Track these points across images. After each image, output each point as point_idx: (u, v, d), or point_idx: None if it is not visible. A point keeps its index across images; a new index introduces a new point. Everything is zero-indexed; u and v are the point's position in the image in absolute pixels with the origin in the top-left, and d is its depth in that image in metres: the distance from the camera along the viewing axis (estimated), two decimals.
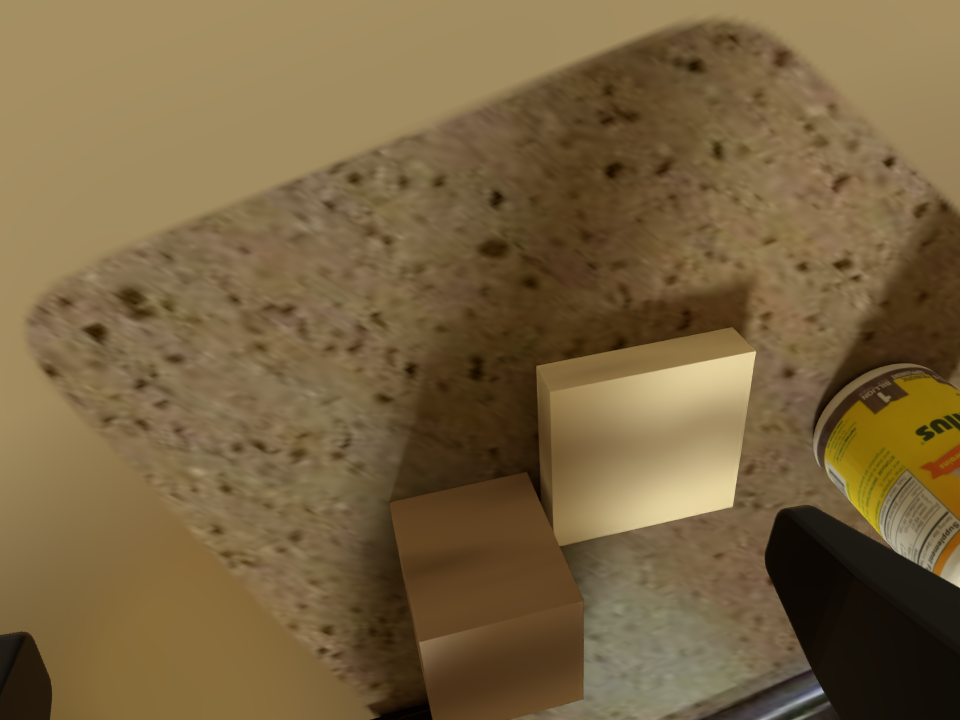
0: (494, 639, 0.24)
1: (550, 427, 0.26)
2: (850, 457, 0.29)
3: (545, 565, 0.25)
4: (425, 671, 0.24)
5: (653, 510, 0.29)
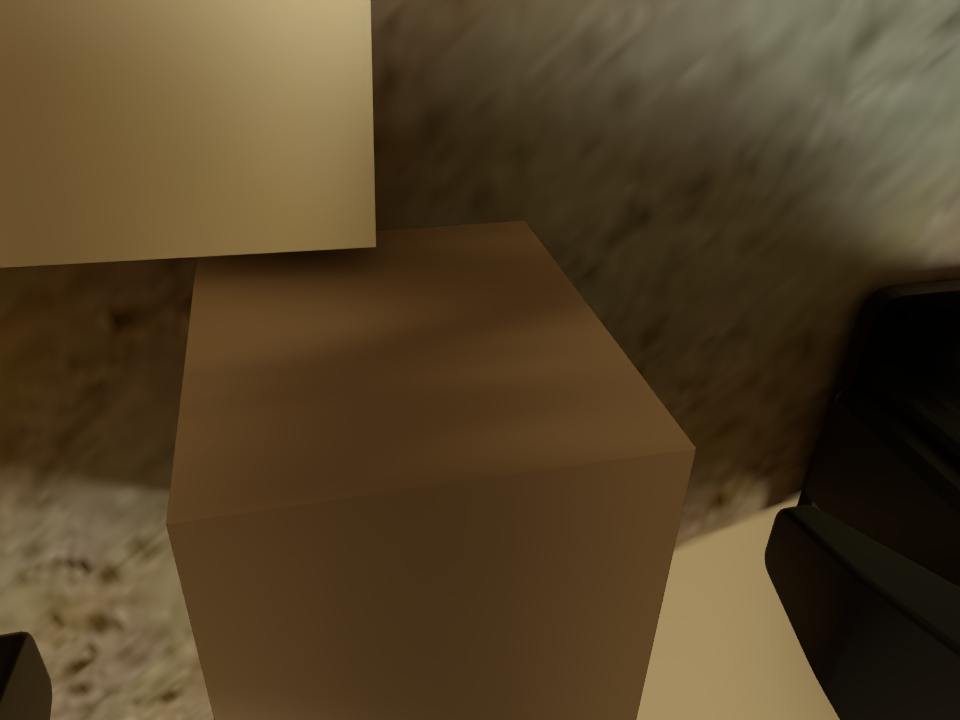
0: (288, 705, 0.09)
1: None
2: None
3: None
4: None
5: None
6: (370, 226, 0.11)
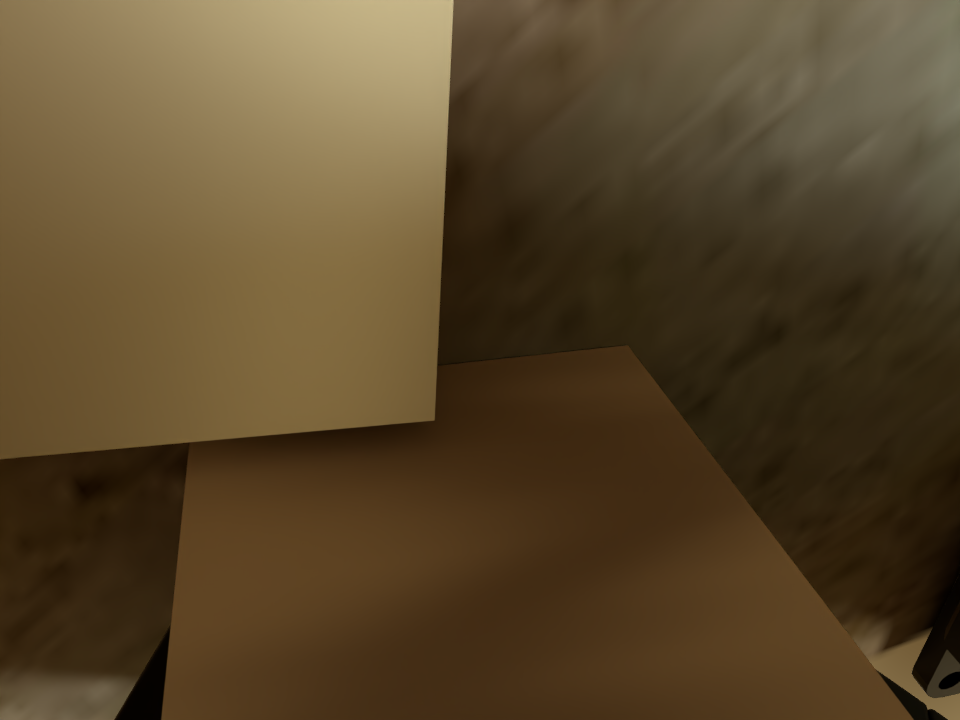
0: None
1: None
2: None
3: None
4: None
5: None
6: (429, 395, 0.07)
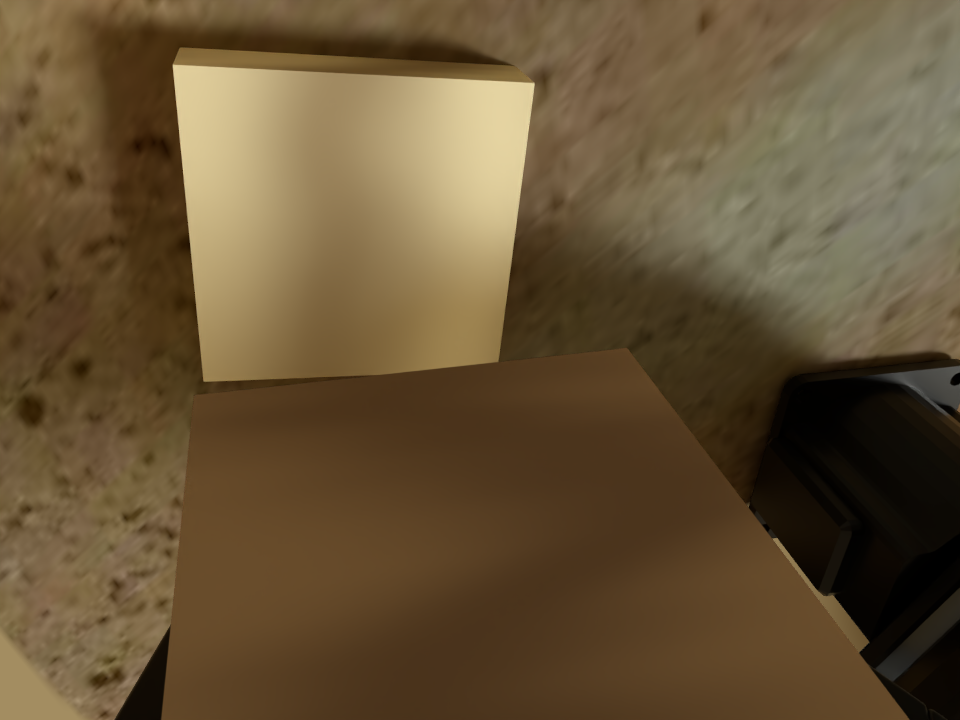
0: None
1: (272, 376, 0.19)
2: None
3: None
4: None
5: (483, 228, 0.18)
6: (496, 360, 0.20)
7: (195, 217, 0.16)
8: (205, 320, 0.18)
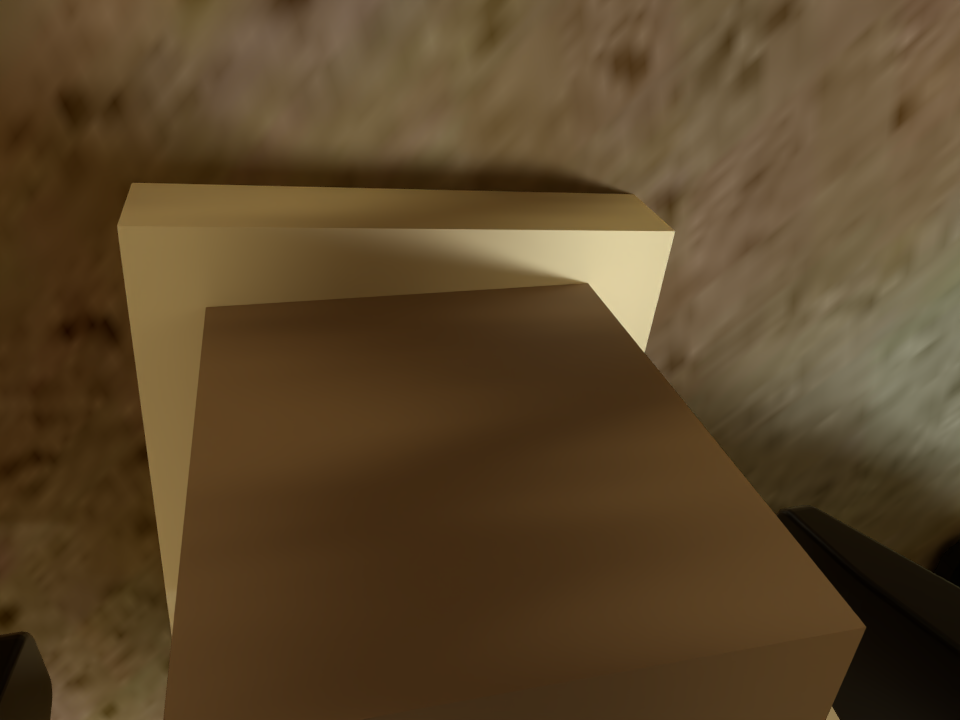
0: None
1: None
2: None
3: None
4: None
5: None
6: None
7: (157, 436, 0.11)
8: (174, 566, 0.12)
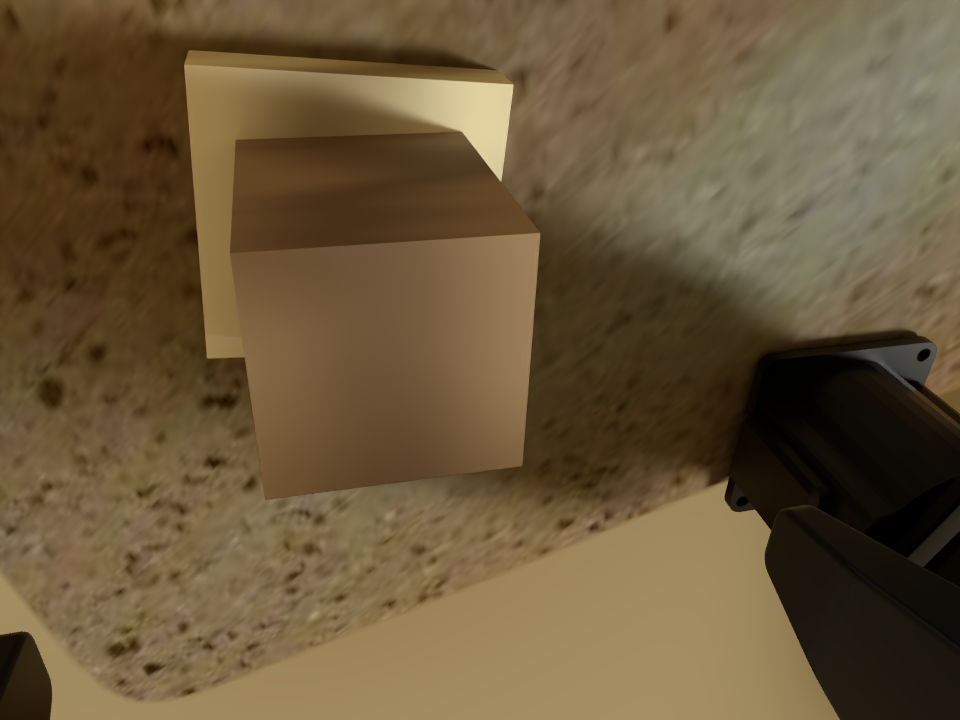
0: (296, 397, 0.14)
1: None
2: None
3: None
4: (341, 488, 0.15)
5: None
6: None
7: (202, 204, 0.18)
8: (209, 300, 0.19)
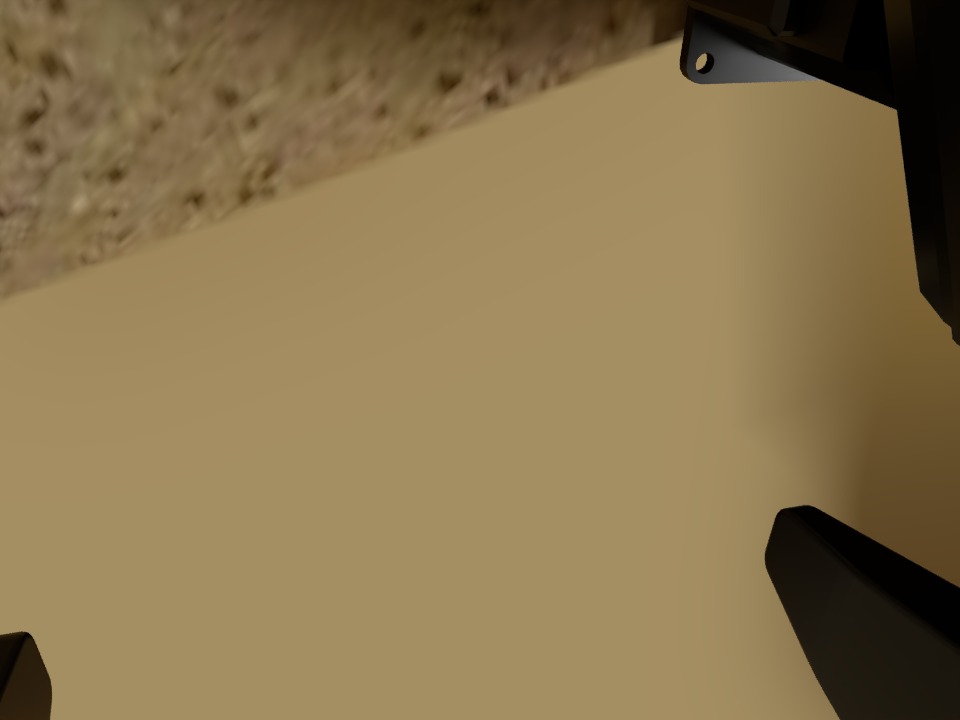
0: None
1: None
2: None
3: None
4: None
5: None
6: None
7: None
8: None
